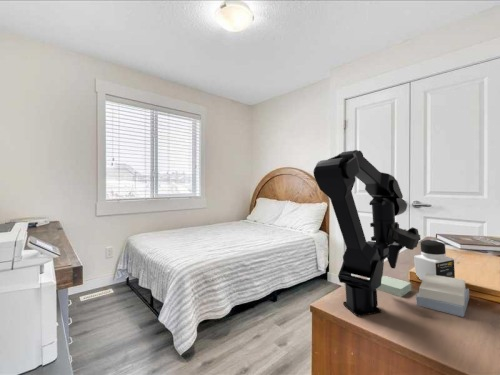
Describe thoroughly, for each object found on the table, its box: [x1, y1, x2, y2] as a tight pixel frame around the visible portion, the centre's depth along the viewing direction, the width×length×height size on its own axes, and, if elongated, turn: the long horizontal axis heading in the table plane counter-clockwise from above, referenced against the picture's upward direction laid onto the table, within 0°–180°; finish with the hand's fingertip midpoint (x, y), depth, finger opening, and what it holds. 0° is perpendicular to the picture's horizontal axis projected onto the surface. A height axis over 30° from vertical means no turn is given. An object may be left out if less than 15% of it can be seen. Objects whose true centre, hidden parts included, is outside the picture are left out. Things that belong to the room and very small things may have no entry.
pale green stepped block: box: [365, 275, 412, 298], centre depth 73 cm, size 10×6×2 cm, turn 34°
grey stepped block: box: [415, 274, 470, 318], centre depth 63 cm, size 12×9×4 cm
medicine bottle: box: [413, 239, 456, 282], centre depth 76 cm, size 7×7×12 cm
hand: (386, 272), depth 73 cm, fingers open, 9 cm apart
